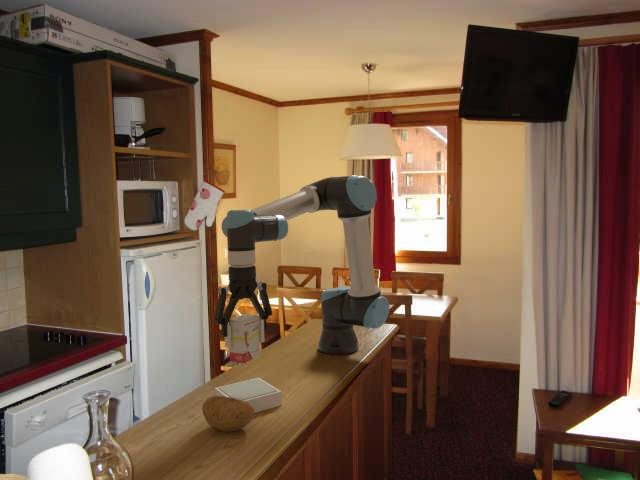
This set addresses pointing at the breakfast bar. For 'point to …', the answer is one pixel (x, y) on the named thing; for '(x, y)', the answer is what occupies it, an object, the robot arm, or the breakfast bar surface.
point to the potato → (227, 413)
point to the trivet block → (252, 393)
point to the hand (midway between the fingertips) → (245, 344)
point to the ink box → (244, 338)
